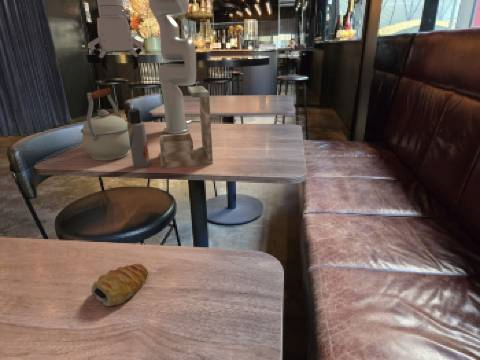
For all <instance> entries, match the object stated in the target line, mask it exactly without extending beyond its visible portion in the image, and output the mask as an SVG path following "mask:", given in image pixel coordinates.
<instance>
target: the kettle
mask: <svg viewBox="0 0 480 360" xmlns="http://www.w3.org/2000/svg"><path fill="white" fill-rule="evenodd" d="M111 94H112V90H111V89H110V87H105V88H102V89H97V90H95V91H89V92H87V93H86V98H87V100H88V109H87V115H86V121H85V122H84V123H83V126H82V128H81V129H80V133H81V134H82V135H81V136H82V138H81V144H82V147H83V149H84V150H85V152H87V153H88V154H89V155H90V156H91V159H93V160H95V161H113V160H118V159H122V158H125V157H126V156H128V155H129V154H130V152H131V147H130V141H129V135H128V128H127V124H128V122H127V121H126V120H125V119H124V118H122V117H120V116H119V111H118V107H117V105H116V104H115V102H114V100H113V98H112V95H111ZM105 96H107V99H108V101H109V103H110V104H111V107H112V109H113V113H114V115H109V114H110V112H108V110H107V109H103V108H102V109H100V110H99V111H98V112H97V115H98V116H95V117H92V113H93V109H94V100H95V99H100V98H102V97H105Z"/></svg>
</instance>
